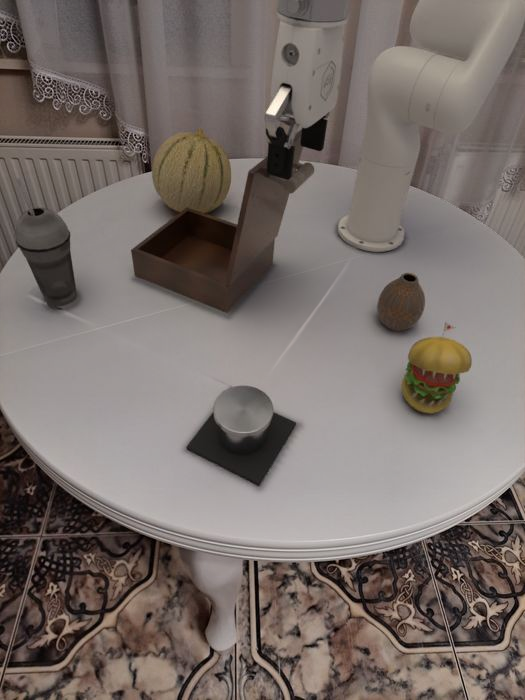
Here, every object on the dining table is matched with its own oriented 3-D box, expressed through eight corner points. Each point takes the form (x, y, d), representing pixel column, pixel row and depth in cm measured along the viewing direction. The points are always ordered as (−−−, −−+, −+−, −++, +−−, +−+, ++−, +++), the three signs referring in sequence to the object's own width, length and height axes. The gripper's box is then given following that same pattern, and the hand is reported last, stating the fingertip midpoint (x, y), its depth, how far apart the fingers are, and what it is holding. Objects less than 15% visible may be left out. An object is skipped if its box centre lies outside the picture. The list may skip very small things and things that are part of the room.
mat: (228, 394, 68) (228, 391, 68) (296, 425, 65) (296, 422, 65) (186, 449, 62) (186, 446, 61) (259, 486, 59) (259, 483, 58)
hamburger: (399, 417, 67) (425, 354, 58) (389, 376, 72) (412, 312, 63) (457, 419, 67) (491, 356, 59) (443, 378, 72) (473, 315, 64)
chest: (135, 279, 84) (130, 249, 80) (188, 235, 94) (186, 207, 90) (226, 316, 79) (227, 287, 75) (272, 265, 89) (275, 237, 85)
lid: (248, 171, 60) (283, 188, 60) (303, 127, 70) (333, 141, 70) (224, 283, 74) (252, 298, 74) (273, 233, 84) (298, 247, 84)
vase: (419, 314, 82) (436, 269, 76) (414, 342, 77) (431, 297, 71) (377, 303, 83) (390, 258, 77) (369, 330, 78) (382, 285, 72)
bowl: (232, 403, 66) (232, 377, 62) (280, 425, 64) (283, 399, 60) (203, 442, 62) (201, 416, 58) (253, 468, 60) (255, 442, 56)
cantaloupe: (144, 222, 96) (134, 144, 85) (170, 186, 106) (165, 112, 96) (219, 235, 94) (219, 157, 84) (239, 197, 105) (241, 123, 94)
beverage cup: (73, 319, 76) (38, 198, 62) (28, 311, 77) (-17, 189, 63) (94, 290, 81) (66, 171, 67) (51, 282, 82) (15, 163, 68)
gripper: (312, 25, 46) (293, 197, 59) (374, -4, 58) (347, 145, 70) (241, 11, 49) (236, 179, 61) (314, -15, 60) (298, 132, 72)
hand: (296, 161), depth 65 cm, fingers open, 9 cm apart
